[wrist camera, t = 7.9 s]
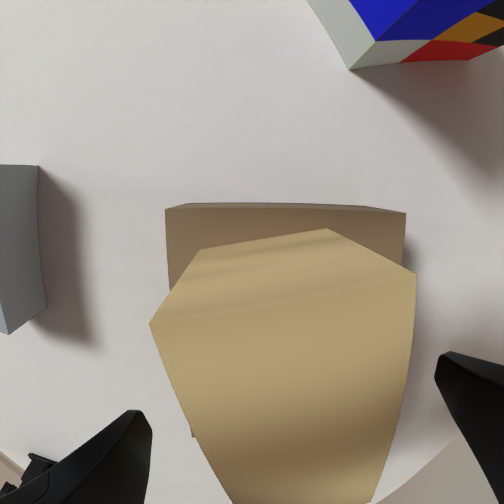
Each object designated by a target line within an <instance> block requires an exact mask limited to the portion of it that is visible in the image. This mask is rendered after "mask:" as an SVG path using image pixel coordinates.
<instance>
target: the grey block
mask: <svg viewBox="0 0 504 504" xmlns="http://www.w3.org/2000/svg"><path fill="white" fill-rule="evenodd" d="M38 168H39V166H33V165H0V332H2V333H5V334H7V335H10V334H11V333H12V332H14V331H15V330H16V329H18V328H19V327H20V326H22V325H23V324H24V323H26V322H27V321H29V320H30V319H31V318H33V317H34V316H36V315H37V314H38V313H40V312H41V311H43V310H44V309H45V308H47V302H46V296H45V290H44V284H43V277H42V269H41V260H40V250H39V237H38V213H37V191H38Z"/></svg>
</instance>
